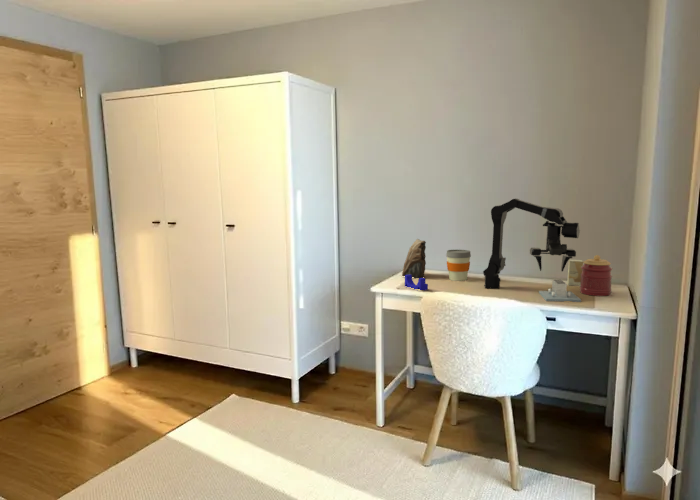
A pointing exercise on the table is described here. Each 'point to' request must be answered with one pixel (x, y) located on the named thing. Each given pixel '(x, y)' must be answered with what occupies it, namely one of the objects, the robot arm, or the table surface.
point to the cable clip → (420, 284)
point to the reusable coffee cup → (458, 264)
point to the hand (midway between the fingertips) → (551, 270)
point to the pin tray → (551, 297)
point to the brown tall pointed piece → (415, 260)
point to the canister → (596, 277)
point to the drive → (559, 288)
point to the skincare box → (574, 272)
